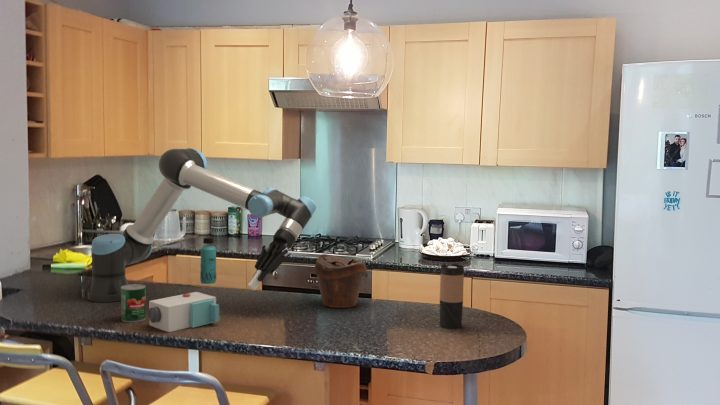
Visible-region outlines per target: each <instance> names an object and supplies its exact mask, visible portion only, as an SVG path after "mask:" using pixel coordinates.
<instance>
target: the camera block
mask: <svg viewBox="0 0 720 405" xmlns="http://www.w3.org/2000/svg"><path fill="white" fill-rule="evenodd" d="M210 299H211V300H214V303H215V304H217V296H214V295H210V294H206V293H202V292H199V291H193V292H188V293H183V294H178V295H173V296H167V297H163V298H162V297H161V298H158V299H152V300H149V301H148V306H149V308H148V313H147V314H148V319H149V326H150V327H152V328H156V329H157V330H161V331H164V332H167V333H172V332H176V331H180V330H184V329H187V328H191V327H190V304H191V303H196V302H201V301H205V300H210Z"/></svg>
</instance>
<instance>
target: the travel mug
mask: <svg viewBox="0 0 720 405" xmlns="http://www.w3.org/2000/svg"><path fill="white" fill-rule="evenodd" d="M464 270H465V267H464V265H461V264H459V263H458V264H456V263H452V264H450V265H447V264H441V265H440V278H439V279H440V283H439V326H440V327H441V328H445V329H459V328H461V327H462V323H463V309H464V283H465V282H464V281H465V280H464V279H465V278H464V276H465V275H464V274H465V272H464Z"/></svg>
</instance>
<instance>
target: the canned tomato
mask: <svg viewBox="0 0 720 405" xmlns="http://www.w3.org/2000/svg"><path fill="white" fill-rule="evenodd" d="M146 288H147V285H146V284H142V283H131V284H129V283H128V285H124V286H122V287H121V300H120V308H121V311H120V312H121V317H120V318H121V319H120V320H121V321H122V322H124V323H139V322H142V321H145V320H146V319H147V303H146V302H147V291H146V290H147V289H146Z"/></svg>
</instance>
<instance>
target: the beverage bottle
mask: <svg viewBox="0 0 720 405" xmlns="http://www.w3.org/2000/svg"><path fill="white" fill-rule="evenodd" d="M214 241H215V240H214V238H213V237H203V242H202V243H203V244H207V245H203V246H202V247H201V248H200V274H199V275H200V278H199V279H200V283H201V284H203V285H211V284H215V283H216V282H217V248H216V247H215V245H210V244H214Z"/></svg>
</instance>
